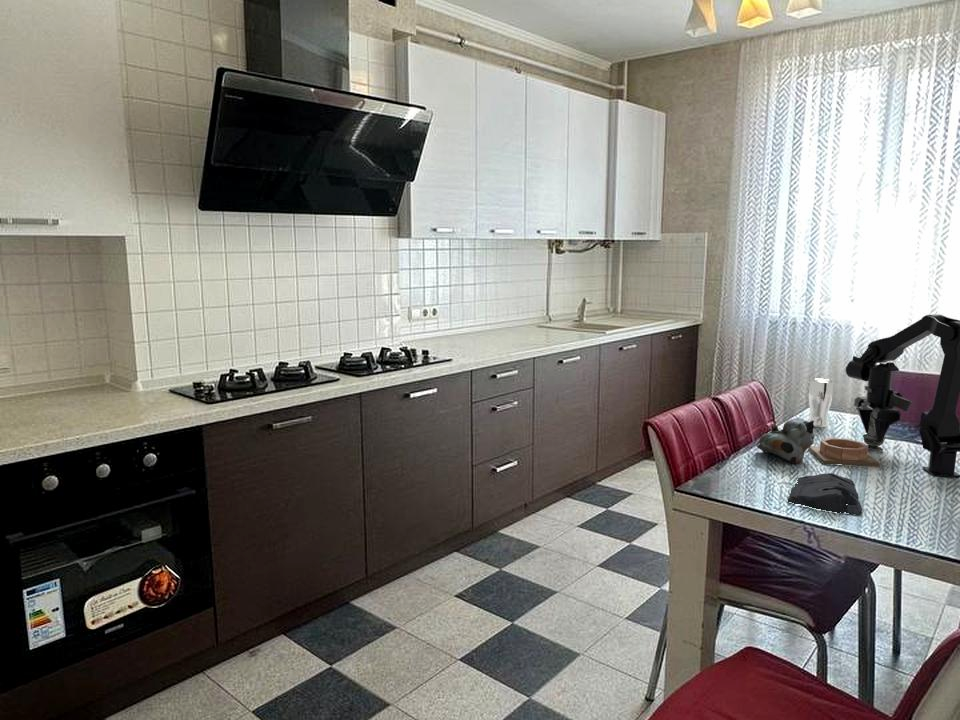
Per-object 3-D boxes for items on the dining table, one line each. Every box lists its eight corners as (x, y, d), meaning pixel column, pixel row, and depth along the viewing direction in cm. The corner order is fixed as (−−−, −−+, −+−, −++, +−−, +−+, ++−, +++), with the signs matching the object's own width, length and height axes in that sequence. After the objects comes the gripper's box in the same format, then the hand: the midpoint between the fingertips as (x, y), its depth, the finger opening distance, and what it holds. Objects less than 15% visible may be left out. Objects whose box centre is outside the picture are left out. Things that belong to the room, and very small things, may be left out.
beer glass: (812, 421, 235) (816, 377, 233) (833, 425, 230) (837, 380, 228) (802, 424, 231) (806, 380, 229) (823, 429, 226) (828, 383, 223)
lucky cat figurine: (756, 448, 203) (781, 406, 202) (796, 470, 198) (822, 428, 196) (753, 446, 189) (780, 401, 188) (796, 470, 184) (824, 424, 183)
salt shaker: (888, 451, 201) (892, 411, 199) (867, 451, 201) (872, 410, 199) (877, 446, 207) (881, 406, 205) (857, 445, 207) (861, 406, 205)
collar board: (879, 467, 186) (881, 452, 185) (823, 464, 188) (825, 449, 188) (860, 452, 200) (862, 438, 199) (808, 449, 202) (809, 435, 201)
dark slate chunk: (863, 490, 170) (865, 471, 169) (861, 520, 151) (863, 499, 150) (794, 479, 177) (795, 461, 176) (784, 507, 158) (786, 487, 157)
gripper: (924, 392, 190) (918, 447, 193) (896, 379, 208) (890, 430, 211) (880, 390, 192) (874, 445, 195) (856, 378, 210) (851, 428, 213)
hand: (873, 437), depth 203 cm, fingers closed on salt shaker, 8 cm apart
